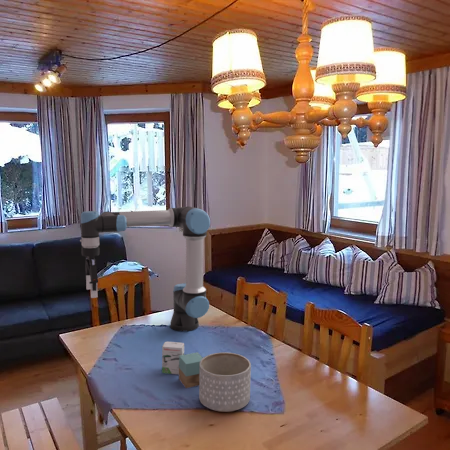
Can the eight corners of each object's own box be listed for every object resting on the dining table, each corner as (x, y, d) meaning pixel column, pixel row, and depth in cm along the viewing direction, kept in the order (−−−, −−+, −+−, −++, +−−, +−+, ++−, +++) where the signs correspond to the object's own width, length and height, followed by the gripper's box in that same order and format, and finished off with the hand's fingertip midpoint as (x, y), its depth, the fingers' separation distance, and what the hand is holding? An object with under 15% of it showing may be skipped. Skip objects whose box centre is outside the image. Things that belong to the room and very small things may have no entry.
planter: (210, 383, 167) (210, 349, 165) (255, 392, 160) (256, 357, 158) (190, 408, 149) (190, 370, 147) (240, 420, 143) (241, 380, 141)
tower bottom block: (197, 375, 174) (197, 363, 173) (205, 384, 166) (205, 372, 166) (178, 379, 170) (178, 367, 169) (186, 388, 163) (186, 376, 162)
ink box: (161, 373, 174) (161, 346, 173) (164, 367, 179) (164, 341, 178) (182, 374, 173) (182, 347, 172) (184, 369, 178) (184, 342, 177)
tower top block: (197, 363, 173) (197, 352, 172) (205, 372, 166) (205, 360, 165) (179, 367, 169) (179, 355, 169) (186, 376, 162) (186, 364, 162)
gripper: (77, 242, 195) (79, 286, 198) (85, 252, 173) (87, 302, 176) (94, 241, 198) (95, 285, 201) (104, 251, 176) (105, 300, 179)
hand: (91, 293), depth 189 cm, fingers open, 13 cm apart
